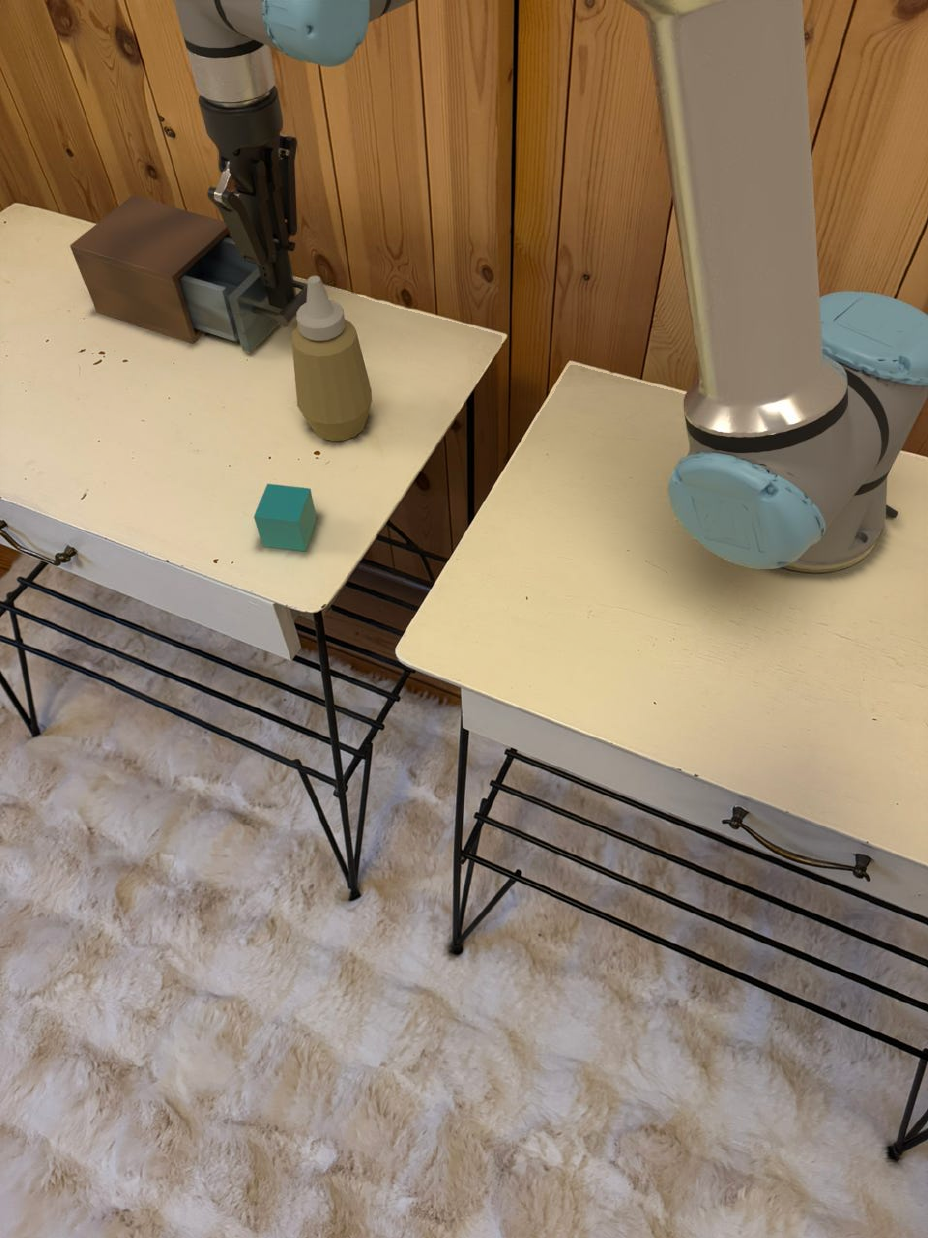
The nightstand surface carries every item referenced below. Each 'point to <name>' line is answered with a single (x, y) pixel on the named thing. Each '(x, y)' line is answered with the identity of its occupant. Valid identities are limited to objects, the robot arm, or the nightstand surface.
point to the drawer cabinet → (146, 263)
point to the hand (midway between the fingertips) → (282, 304)
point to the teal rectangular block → (286, 517)
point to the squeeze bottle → (329, 368)
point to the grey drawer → (234, 297)
